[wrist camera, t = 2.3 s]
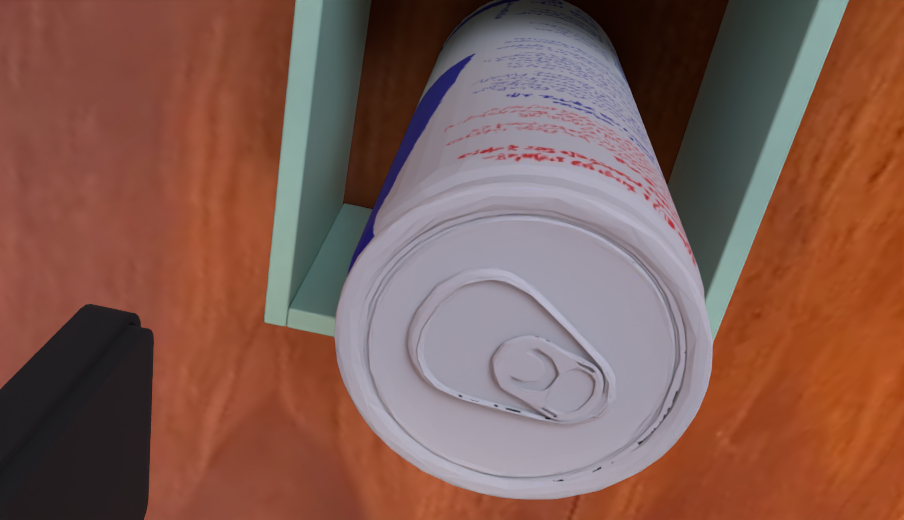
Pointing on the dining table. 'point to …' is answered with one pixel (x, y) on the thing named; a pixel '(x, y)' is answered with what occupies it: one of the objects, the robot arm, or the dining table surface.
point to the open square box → (690, 185)
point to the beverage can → (525, 271)
